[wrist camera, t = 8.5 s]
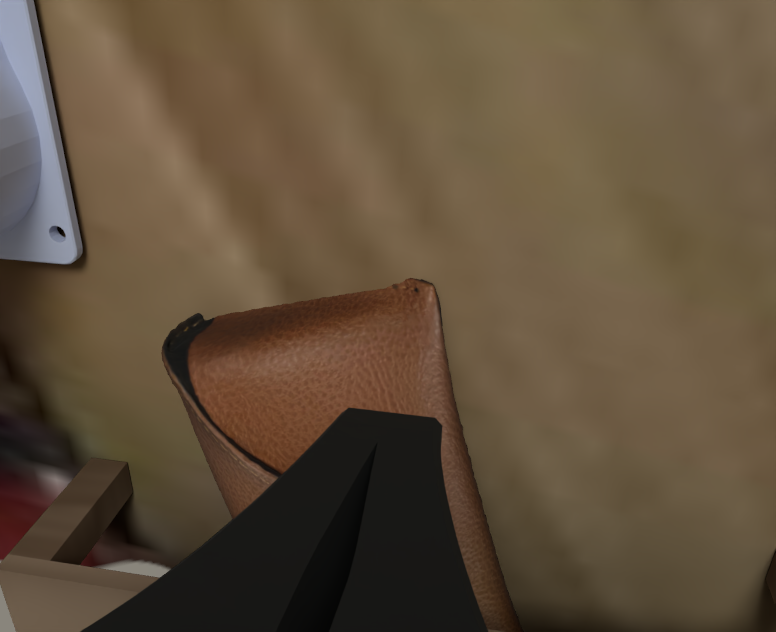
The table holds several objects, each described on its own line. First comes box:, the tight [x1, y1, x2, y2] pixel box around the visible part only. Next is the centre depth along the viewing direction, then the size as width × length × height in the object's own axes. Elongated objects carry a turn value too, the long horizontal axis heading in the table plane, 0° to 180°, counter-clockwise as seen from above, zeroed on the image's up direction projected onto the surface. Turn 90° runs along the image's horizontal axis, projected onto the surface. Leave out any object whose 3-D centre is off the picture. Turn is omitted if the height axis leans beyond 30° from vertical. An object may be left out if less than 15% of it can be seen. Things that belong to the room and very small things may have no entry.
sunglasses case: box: [162, 278, 524, 632], centre depth 23 cm, size 18×7×7 cm, turn 17°
